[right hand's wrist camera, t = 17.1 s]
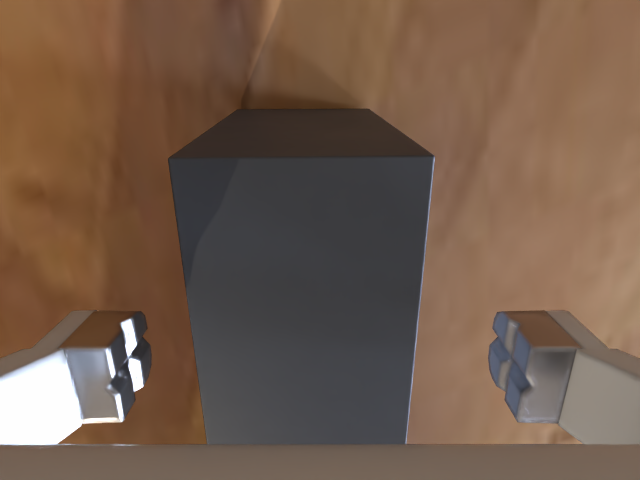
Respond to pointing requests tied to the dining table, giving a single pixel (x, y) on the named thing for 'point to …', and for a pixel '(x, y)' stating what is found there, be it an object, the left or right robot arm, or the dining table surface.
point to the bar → (303, 273)
